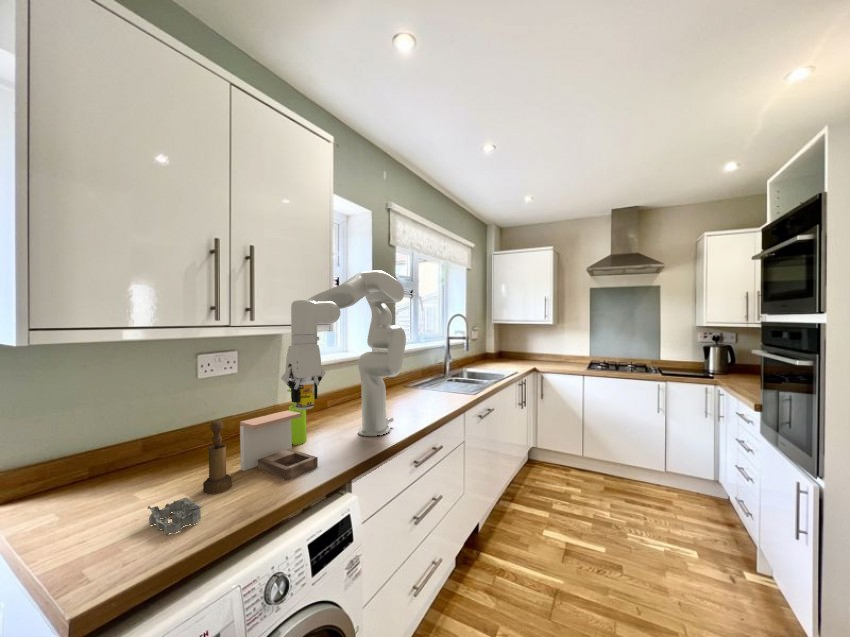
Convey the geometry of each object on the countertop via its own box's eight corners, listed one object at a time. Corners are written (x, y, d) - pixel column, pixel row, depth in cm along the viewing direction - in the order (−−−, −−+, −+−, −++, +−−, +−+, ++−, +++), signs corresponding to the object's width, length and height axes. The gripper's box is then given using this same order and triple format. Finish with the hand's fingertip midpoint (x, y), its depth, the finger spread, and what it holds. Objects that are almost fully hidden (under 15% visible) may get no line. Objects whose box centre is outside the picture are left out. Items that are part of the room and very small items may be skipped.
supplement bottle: (292, 410, 105) (292, 375, 105) (297, 406, 110) (297, 373, 111) (312, 409, 105) (312, 375, 105) (316, 405, 111) (316, 373, 111)
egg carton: (145, 524, 78) (144, 506, 78) (183, 509, 84) (183, 492, 84) (166, 540, 72) (165, 519, 72) (205, 522, 78) (205, 503, 78)
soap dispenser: (283, 444, 128) (282, 388, 128) (298, 438, 134) (297, 385, 134) (295, 446, 125) (294, 389, 125) (309, 440, 131) (308, 386, 132)
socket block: (289, 458, 114) (289, 448, 114) (317, 467, 106) (317, 457, 106) (258, 469, 106) (257, 459, 106) (286, 480, 98) (286, 469, 98)
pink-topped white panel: (288, 452, 119) (287, 410, 120) (302, 457, 115) (301, 413, 115) (240, 469, 106) (239, 421, 106) (254, 474, 102) (253, 425, 102)
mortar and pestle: (237, 485, 95) (236, 418, 96) (215, 496, 89) (214, 425, 90) (220, 481, 98) (219, 416, 98) (197, 492, 92) (196, 422, 92)
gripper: (318, 339, 118) (319, 394, 117) (271, 341, 103) (271, 404, 103) (334, 339, 113) (334, 396, 113) (287, 341, 99) (287, 407, 99)
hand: (304, 399), depth 108 cm, fingers closed on supplement bottle, 5 cm apart
